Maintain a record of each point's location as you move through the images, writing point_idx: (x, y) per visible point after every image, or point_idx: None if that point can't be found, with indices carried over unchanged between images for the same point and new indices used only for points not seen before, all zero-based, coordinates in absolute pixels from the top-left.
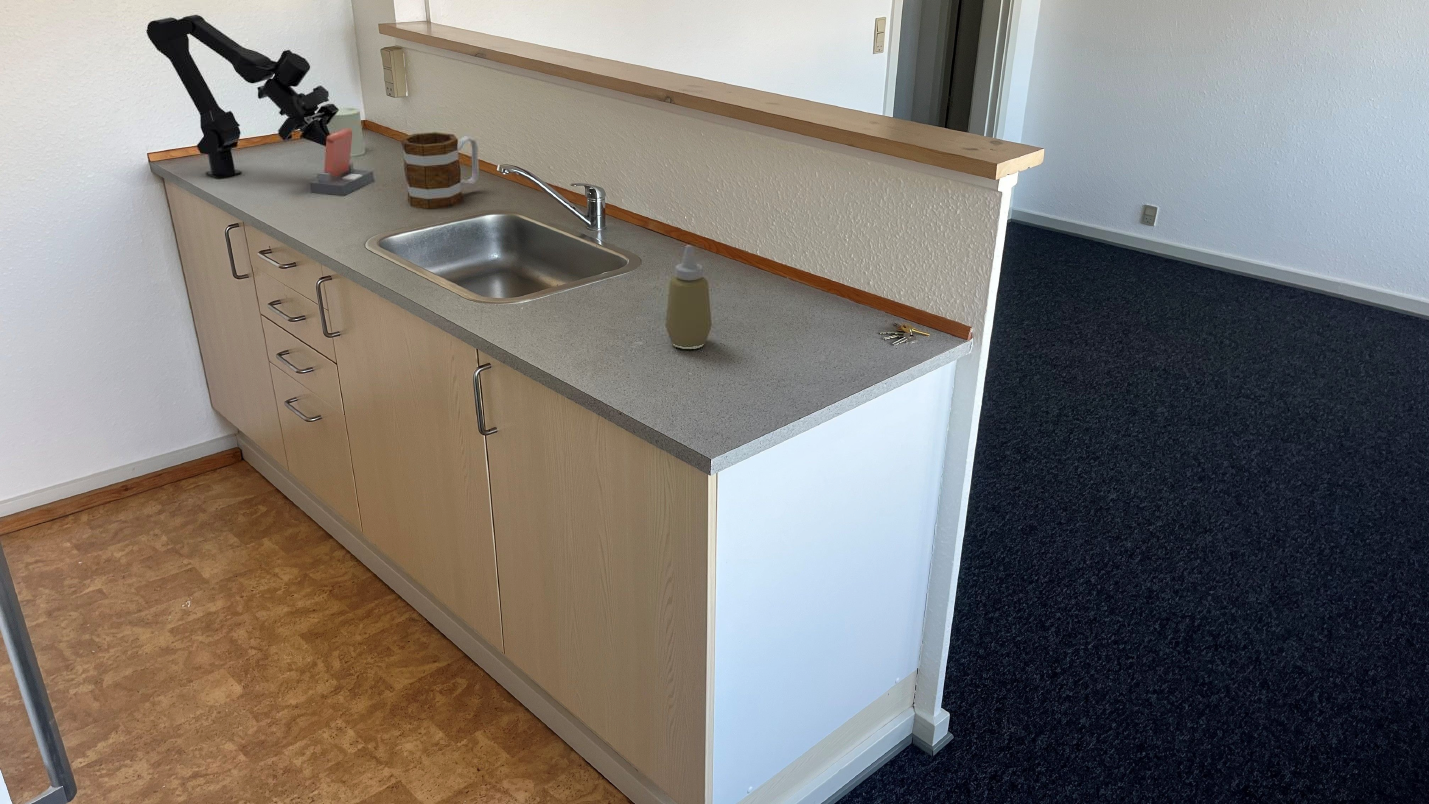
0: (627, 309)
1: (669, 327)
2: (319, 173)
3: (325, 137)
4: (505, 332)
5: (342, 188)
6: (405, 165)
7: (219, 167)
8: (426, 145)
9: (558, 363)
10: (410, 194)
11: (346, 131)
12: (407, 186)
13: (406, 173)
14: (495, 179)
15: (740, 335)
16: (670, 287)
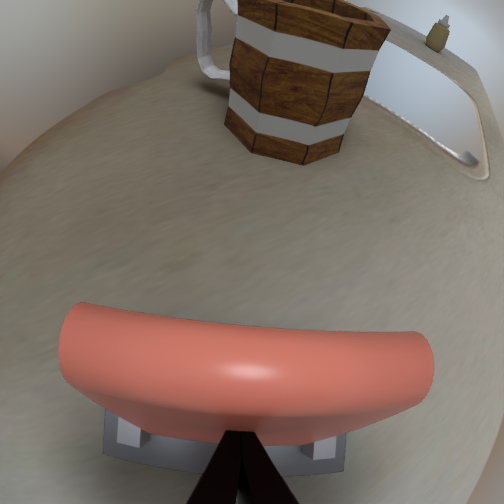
0: (424, 51)
1: (444, 46)
2: (332, 449)
3: (294, 498)
4: (481, 94)
5: None
6: (347, 83)
7: None
8: (369, 12)
9: (478, 84)
10: (343, 131)
11: (159, 320)
12: (316, 134)
13: (352, 97)
14: (119, 89)
15: (412, 36)
16: (448, 32)
